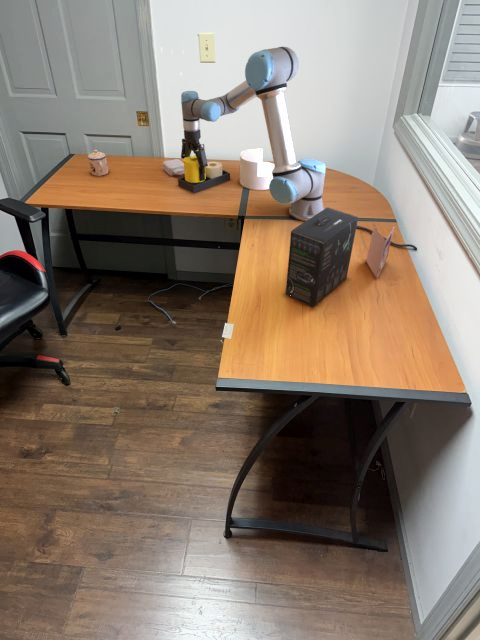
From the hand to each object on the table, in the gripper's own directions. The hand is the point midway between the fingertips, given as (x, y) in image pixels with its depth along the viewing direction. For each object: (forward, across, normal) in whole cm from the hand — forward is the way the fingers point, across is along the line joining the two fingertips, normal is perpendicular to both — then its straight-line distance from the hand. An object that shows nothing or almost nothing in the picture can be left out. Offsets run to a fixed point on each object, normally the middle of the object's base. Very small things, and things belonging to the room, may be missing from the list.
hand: (195, 177), depth 212 cm
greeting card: (+5, -102, -1) cm, 102 cm away
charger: (+5, +19, -3) cm, 20 cm away
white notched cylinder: (+5, -18, -27) cm, 33 cm away
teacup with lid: (+4, +46, +26) cm, 53 cm away
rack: (+5, 0, -6) cm, 7 cm away
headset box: (+5, -95, +23) cm, 98 cm away
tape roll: (+1, 0, 0) cm, 1 cm away
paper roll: (+5, 0, -12) cm, 12 cm away
